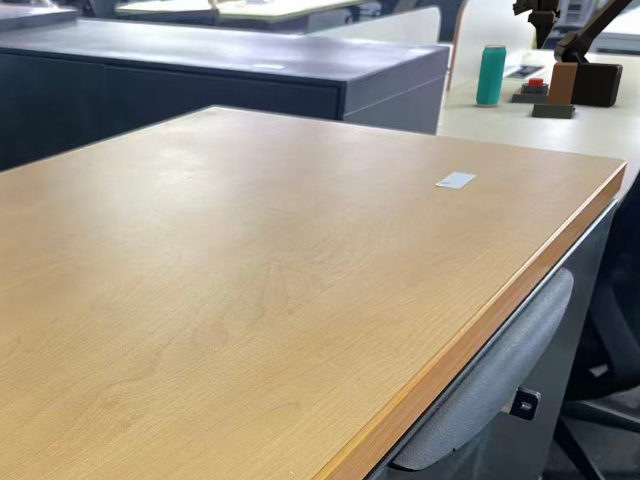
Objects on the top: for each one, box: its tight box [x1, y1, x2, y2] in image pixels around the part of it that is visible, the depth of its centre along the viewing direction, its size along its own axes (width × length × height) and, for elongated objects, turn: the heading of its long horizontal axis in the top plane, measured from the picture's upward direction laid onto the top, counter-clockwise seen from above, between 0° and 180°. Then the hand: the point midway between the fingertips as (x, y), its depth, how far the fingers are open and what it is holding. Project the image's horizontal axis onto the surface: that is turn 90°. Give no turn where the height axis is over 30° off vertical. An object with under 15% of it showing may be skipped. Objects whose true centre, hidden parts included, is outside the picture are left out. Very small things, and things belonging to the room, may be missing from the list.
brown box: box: [547, 61, 578, 105], centre depth 217 cm, size 5×5×11 cm
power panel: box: [511, 82, 550, 104], centre depth 232 cm, size 12×9×4 cm
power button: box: [527, 77, 545, 86], centre depth 231 cm, size 4×4×2 cm
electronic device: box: [570, 62, 624, 108], centre depth 221 cm, size 4×10×10 cm, turn 44°
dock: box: [531, 103, 576, 120], centre depth 213 cm, size 8×9×3 cm
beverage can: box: [475, 44, 507, 108], centre depth 224 cm, size 6×6×15 cm
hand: (538, 48), depth 234 cm, fingers closed
